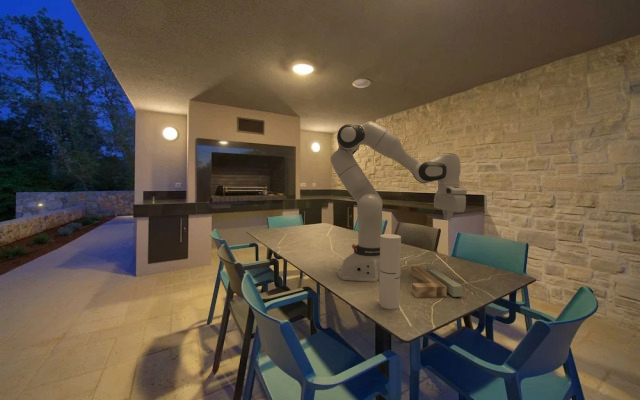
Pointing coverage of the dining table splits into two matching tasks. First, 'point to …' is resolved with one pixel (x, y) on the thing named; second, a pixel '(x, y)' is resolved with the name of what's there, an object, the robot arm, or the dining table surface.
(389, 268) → the cylindrical container
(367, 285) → the dining table surface
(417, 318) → the dining table surface
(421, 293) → the l-shaped wooden joint
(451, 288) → the folding leg
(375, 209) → the robot arm
